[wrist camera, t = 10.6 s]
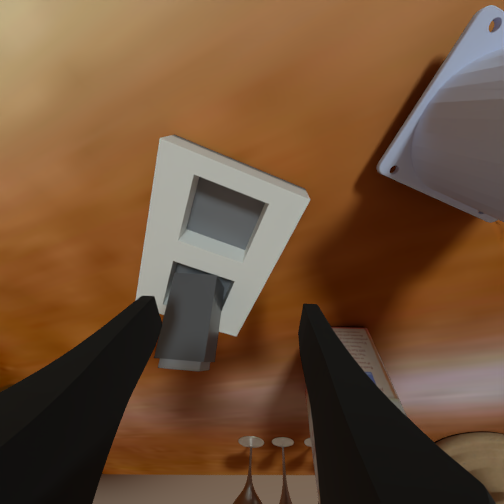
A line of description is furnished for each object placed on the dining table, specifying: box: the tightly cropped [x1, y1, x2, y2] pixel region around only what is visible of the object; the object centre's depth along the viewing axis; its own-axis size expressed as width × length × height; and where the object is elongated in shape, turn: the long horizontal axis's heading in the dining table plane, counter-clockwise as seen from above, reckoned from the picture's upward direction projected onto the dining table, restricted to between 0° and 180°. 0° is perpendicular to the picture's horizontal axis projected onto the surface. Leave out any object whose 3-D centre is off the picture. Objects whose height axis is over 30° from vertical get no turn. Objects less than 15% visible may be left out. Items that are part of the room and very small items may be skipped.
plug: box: [154, 273, 224, 371], centre depth 19 cm, size 4×4×7 cm
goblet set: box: [233, 436, 319, 504], centre depth 34 cm, size 28×6×13 cm, turn 99°
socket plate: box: [136, 135, 310, 337], centre depth 19 cm, size 10×15×2 cm, turn 159°
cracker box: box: [305, 327, 406, 504], centre depth 19 cm, size 14×6×21 cm, turn 2°
